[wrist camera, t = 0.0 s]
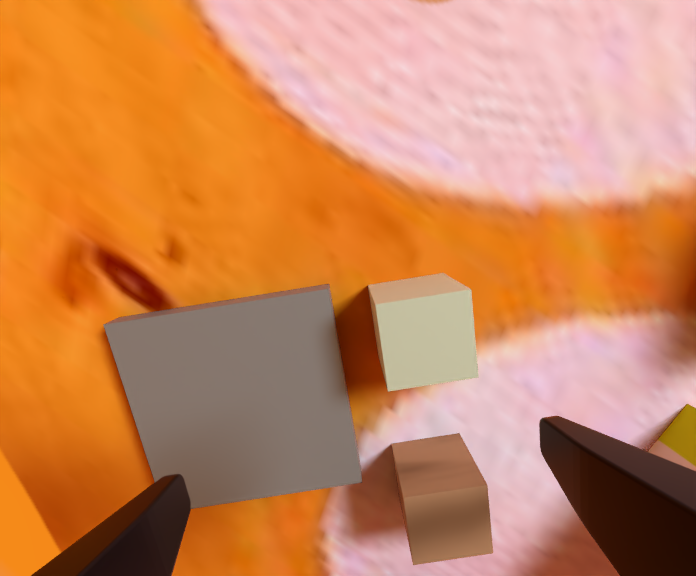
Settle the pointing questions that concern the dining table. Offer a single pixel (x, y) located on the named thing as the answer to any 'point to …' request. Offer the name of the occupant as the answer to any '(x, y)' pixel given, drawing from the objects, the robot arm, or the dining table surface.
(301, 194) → the dining table surface
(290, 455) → the base board
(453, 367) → the sage cube
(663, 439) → the puzzle toy
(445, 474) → the walnut cube
